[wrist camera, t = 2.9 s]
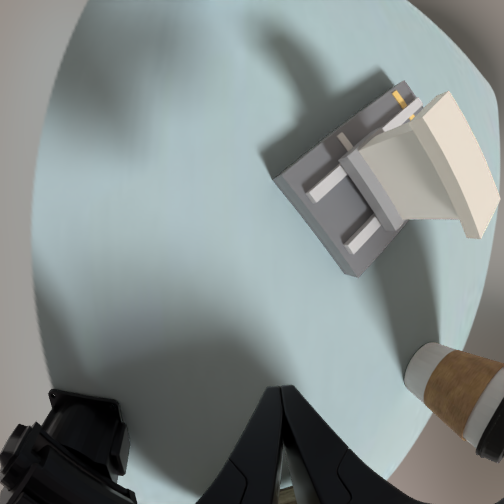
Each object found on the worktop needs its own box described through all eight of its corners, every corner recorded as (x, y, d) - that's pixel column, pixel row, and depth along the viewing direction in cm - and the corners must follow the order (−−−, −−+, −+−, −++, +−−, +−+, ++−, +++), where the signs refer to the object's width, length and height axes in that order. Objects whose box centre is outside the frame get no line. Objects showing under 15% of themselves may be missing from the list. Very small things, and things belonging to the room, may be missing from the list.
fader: (387, 234, 19) (479, 241, 11) (334, 155, 17) (420, 119, 9) (415, 201, 19) (501, 196, 11) (368, 126, 18) (450, 89, 10)
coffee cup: (393, 353, 23) (514, 423, 9) (448, 318, 25) (556, 357, 10) (394, 412, 25) (483, 483, 10) (444, 376, 26) (531, 424, 12)
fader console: (344, 273, 21) (362, 279, 19) (272, 180, 19) (284, 173, 17) (439, 163, 23) (458, 160, 20) (391, 87, 21) (408, 78, 19)
